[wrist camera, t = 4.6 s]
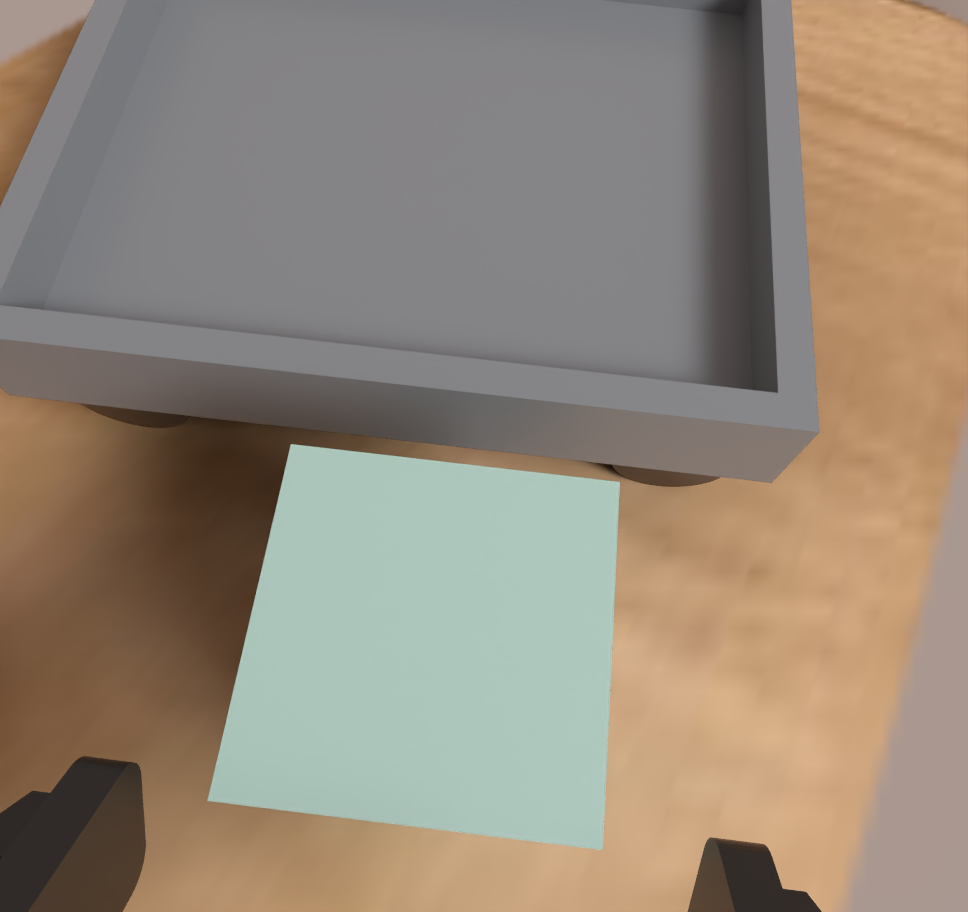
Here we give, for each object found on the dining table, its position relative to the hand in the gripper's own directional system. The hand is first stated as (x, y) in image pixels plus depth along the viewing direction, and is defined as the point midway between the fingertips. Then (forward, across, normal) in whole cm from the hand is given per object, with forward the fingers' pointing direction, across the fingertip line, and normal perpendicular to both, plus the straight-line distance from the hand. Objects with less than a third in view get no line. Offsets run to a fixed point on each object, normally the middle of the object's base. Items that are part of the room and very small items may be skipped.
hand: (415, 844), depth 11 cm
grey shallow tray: (+16, +2, -6) cm, 18 cm away
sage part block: (+7, 0, +3) cm, 8 cm away
